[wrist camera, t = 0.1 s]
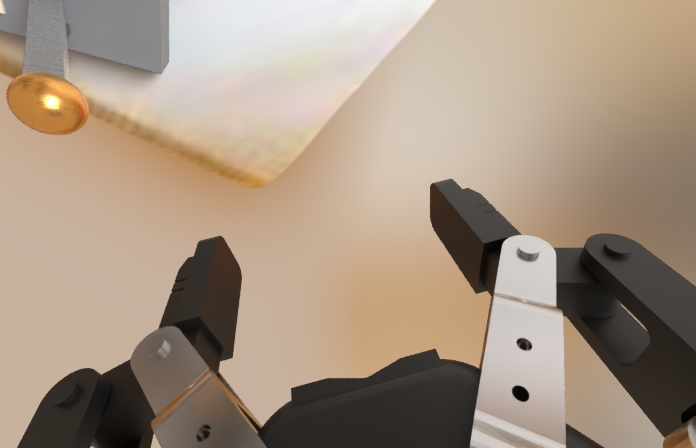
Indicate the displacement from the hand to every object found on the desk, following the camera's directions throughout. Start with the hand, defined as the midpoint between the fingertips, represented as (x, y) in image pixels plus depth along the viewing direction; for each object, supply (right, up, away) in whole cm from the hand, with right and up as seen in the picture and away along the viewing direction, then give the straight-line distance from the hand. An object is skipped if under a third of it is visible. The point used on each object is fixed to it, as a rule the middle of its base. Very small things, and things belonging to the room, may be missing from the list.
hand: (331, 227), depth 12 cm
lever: (-18, +14, +8) cm, 24 cm away
